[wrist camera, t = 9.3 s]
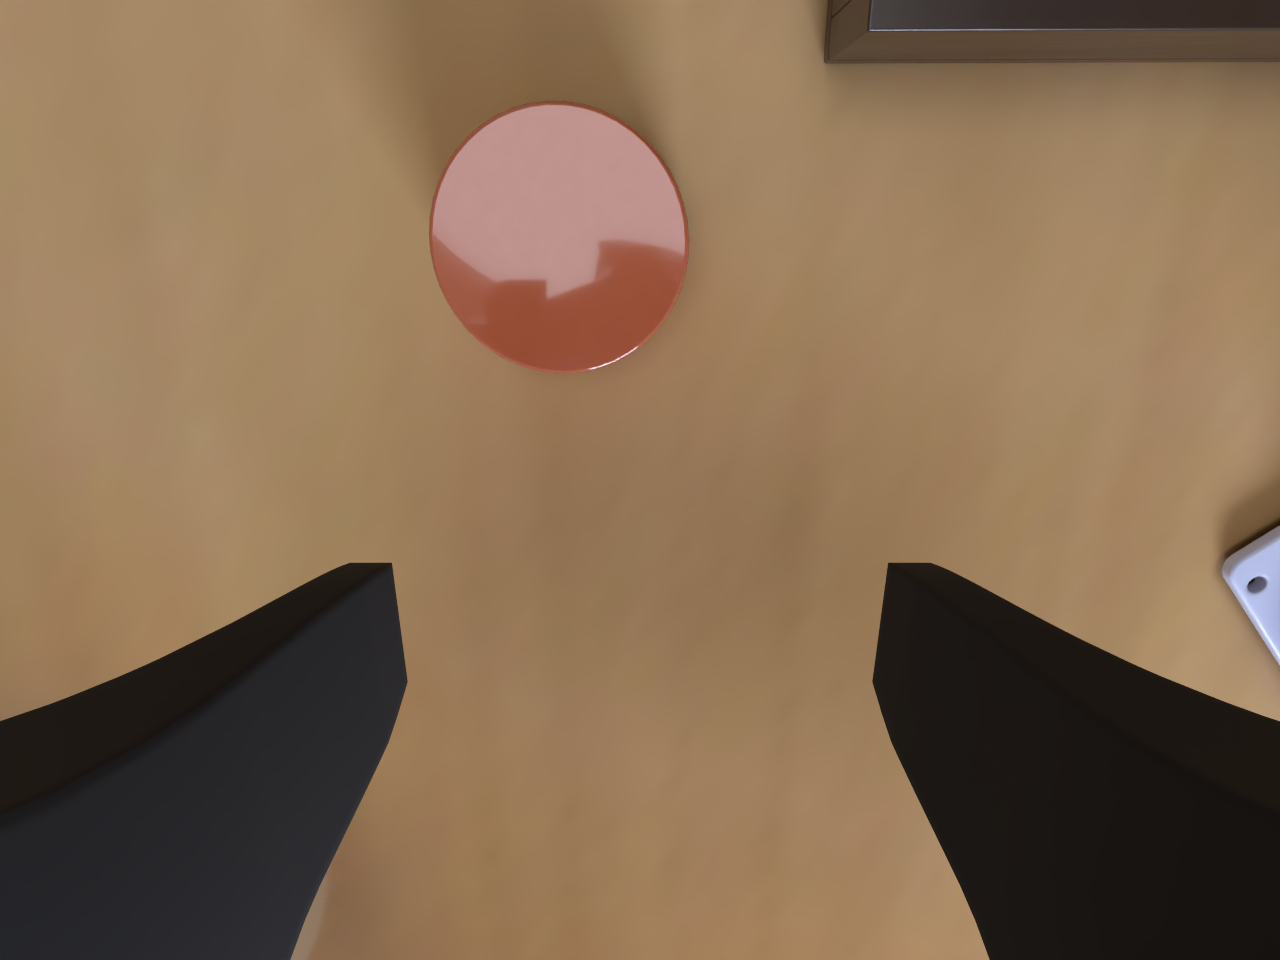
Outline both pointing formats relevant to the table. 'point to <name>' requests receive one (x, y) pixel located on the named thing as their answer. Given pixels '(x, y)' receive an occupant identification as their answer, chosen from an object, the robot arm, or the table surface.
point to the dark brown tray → (1052, 31)
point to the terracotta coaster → (559, 237)
